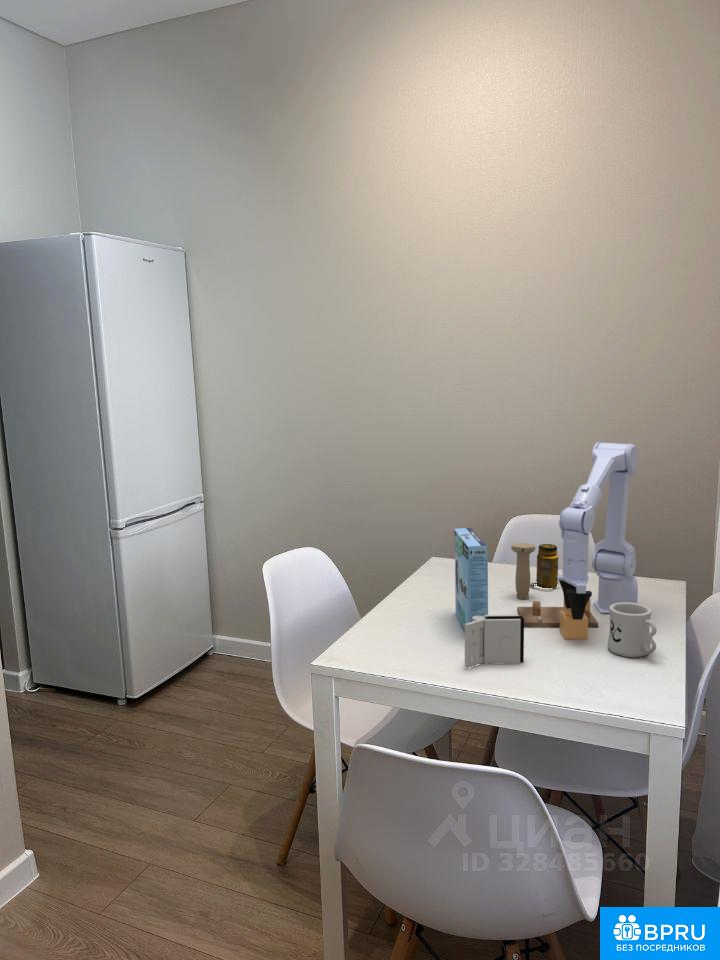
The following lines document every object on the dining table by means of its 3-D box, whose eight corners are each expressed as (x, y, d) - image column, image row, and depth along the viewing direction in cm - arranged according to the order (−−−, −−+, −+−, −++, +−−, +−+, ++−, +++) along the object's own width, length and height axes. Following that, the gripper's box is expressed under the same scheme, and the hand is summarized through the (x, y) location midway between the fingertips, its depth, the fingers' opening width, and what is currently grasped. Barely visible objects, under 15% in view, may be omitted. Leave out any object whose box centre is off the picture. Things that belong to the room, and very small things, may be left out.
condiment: (563, 585, 217) (564, 545, 215) (548, 592, 211) (548, 551, 209) (542, 580, 222) (542, 541, 220) (525, 587, 216) (526, 546, 214)
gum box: (488, 640, 176) (489, 545, 173) (467, 640, 176) (467, 546, 172) (473, 612, 195) (473, 527, 192) (453, 613, 195) (453, 527, 192)
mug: (598, 647, 170) (600, 605, 169) (629, 640, 174) (631, 599, 172) (638, 667, 159) (640, 622, 158) (670, 659, 163) (672, 615, 161)
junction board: (586, 611, 194) (587, 584, 193) (598, 627, 183) (599, 599, 181) (517, 611, 196) (517, 584, 195) (523, 627, 184) (524, 599, 183)
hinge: (465, 669, 160) (465, 625, 158) (457, 660, 165) (457, 616, 163) (526, 663, 162) (526, 619, 161) (516, 654, 168) (517, 611, 166)
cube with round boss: (582, 630, 181) (583, 607, 180) (587, 639, 175) (588, 614, 174) (559, 630, 181) (560, 607, 180) (564, 639, 176) (564, 614, 175)
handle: (534, 601, 203) (535, 548, 201) (510, 600, 205) (510, 546, 202) (534, 596, 208) (535, 543, 205) (511, 594, 209) (511, 542, 207)
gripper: (552, 550, 183) (551, 603, 185) (564, 566, 168) (562, 624, 170) (581, 550, 182) (580, 603, 184) (596, 566, 168) (594, 624, 170)
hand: (573, 613), depth 177 cm, fingers open, 7 cm apart
